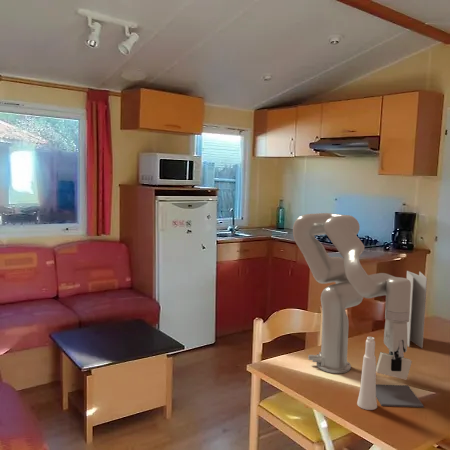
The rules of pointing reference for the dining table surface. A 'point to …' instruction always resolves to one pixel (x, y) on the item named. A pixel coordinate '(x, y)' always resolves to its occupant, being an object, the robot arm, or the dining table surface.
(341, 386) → the dining table surface
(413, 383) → the dining table surface
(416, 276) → the brochure
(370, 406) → the cosmetic bottle
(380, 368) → the tile
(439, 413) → the dining table surface
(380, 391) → the mat
